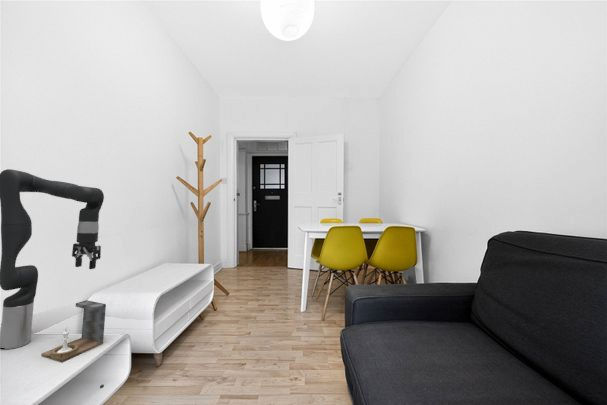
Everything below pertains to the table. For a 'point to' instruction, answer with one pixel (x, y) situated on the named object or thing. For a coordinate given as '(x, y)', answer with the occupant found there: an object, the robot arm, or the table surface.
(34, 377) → the table surface
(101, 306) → the base
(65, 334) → the chess piece
